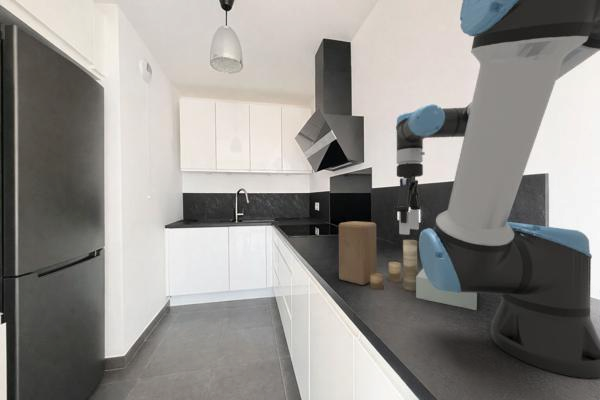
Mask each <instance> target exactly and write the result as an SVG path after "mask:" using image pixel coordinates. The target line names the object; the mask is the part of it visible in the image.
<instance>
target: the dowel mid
mask: <svg viewBox="0 0 600 400" xmlns="http://www.w3.org/2000/svg"><path fill="white" fill-rule="evenodd" d="M388 281H389V282H390V283H394V284H395V283H396V284H399V283H402V263H400V262H398V261H390V262H388Z"/></svg>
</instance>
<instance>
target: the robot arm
mask: <svg viewBox="0 0 600 400" xmlns="http://www.w3.org/2000/svg"><path fill="white" fill-rule="evenodd" d="M459 20H460V28H461V31H462V32H463V33H464V34H465V35H468V36H469V37H473V41H472V44H471V45H472V46H471V51H470V53H471V54H472V55H473V56H474V57H475V59H476V60H477V61H478V62H479V69H478V70H479V71H478V74H477V80H476V84H475V88H474V92H473V95H472V96H473V97H472V101H471V102H470V103H469V104H468V105H467V106H466V107H450V108H448V107H447V108H442V107H440V106H439V105H437V104H434V103H429V104H428V103H427V104H424V105H422V106H421V107H419V108H417V109H416V110H414V111H409V112H404V113H401V114H400V115H398V116H397V118H396V126H395V130H396V164H397V166H396V176H397V177H398V178H400V179H399V190H398V197H397V198H398V199H397V207H396V208H395V211H396V212H398V213H399V215H398V217H399V220H398V224H399V228H398V229H399V230H398V232H399V235H408V236H409V235H410V232H411V231H410V230H419V228H420V225H419V224H420V222H419V221H420V218H419V217H420V210H422V206H421V202H420V195H419V180H418V179H417V180H416V178H417V177H422V176H423V175H424V165H423V164H422V163H423V161H424V160H423V156H424V155H425V154H426V153H425V152H424V151H423V147H424V145H423V143H424V142H423V141H424V140H425V139H428V138H434V139H435V138H459V137H460V138H463V140H462V141H463V142H462V145H461V149H460V153H459V158H458V163H457V165H456V171H455V176H454V180H453V181H454V182H453V185H452V190H451V193H450V198H449V202H448V207H447V210H445V211H443V212H440V213H439V214H437V216H436V218H435V222H434V228H430V227H428V228H425V229H423V230H422V231H421V232H420V233H419V238H418V250H419V257H420V262H421V266H422V269H424V272H425V274H426V276H427V278H428V280H429V282H430V283H431V284H432V285H433V286H434V287H435V288H436V289H438V290H441V291H449V292H456V293H461V292H469V293H477V294H478V293H479V294H480V293H481V294H501V301H500V302H499V305H498V307H497V310H496V312H495V314H494V317H493V319H492V321H491V325H490V338H491V340H492V342H493V343H494V344H495V345H497V347H498V348H500V349H501V350H502V351H504V352H505V353H507V354H508V355H511V356H512V357H514V358H516V359H518V360H520V361H522V362H525V363H527V364H529V365H531V366H534V367H537V368H540V369H542V370H545V371H548V372H552V373H556V374H559V375H565V376H570V377H574V378H582V379H583V378H584V379H586V378H587V379H594V378H595V379H596V378H600V336H599V335H598V333H597V331H596V328H595V326H594V323H593V322H592V320H591V319H592V318H591V278H592V277H591V275H592V274H591V271H592V270H591V268H592V267H591V265H592V261H591V260H592V257H593V255H592V254H591V250H590V240H589V238H588V236H587V235H586V234H585V233H584V232H582V231H579V230H577V229H576V230H575V229H567V228H560V227H554V226H553V227H552V226H546V225H545V226H543V225H535V224H530V223H529V224H528V223H519V222H511V221H508V219H509V217H510V214H511V211H512V208H513V205H514V203H515V199H516V197H517V194H518V191H519V188H520V184H521V182H522V180H523V177H524V173H525V170H526V167H527V165H528V162H529V160H530V157H531V156H530V155H531V153H532V150H533V148H534V145H535V141H536V139H537V136H538V133H539V130H540V127H541V125H542V121H543V118H544V115H545V113H546V110H547V107H548V104H549V101H550V99H551V96H552V94H553V90H554V87H555V84H556V81H557V80H559V79H560V78H562V77H563V76H564V75H566V74H567V73H569V72H570V71H573V69H575V68H577V66H579V65H581V64H583V63H584V62H585V61H586V60H588V59H590V58H591V57H592V56H594V55H595V54H596V53H598V52H599V51H600V0H462V3H461V7H460V15H459Z"/></svg>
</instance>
